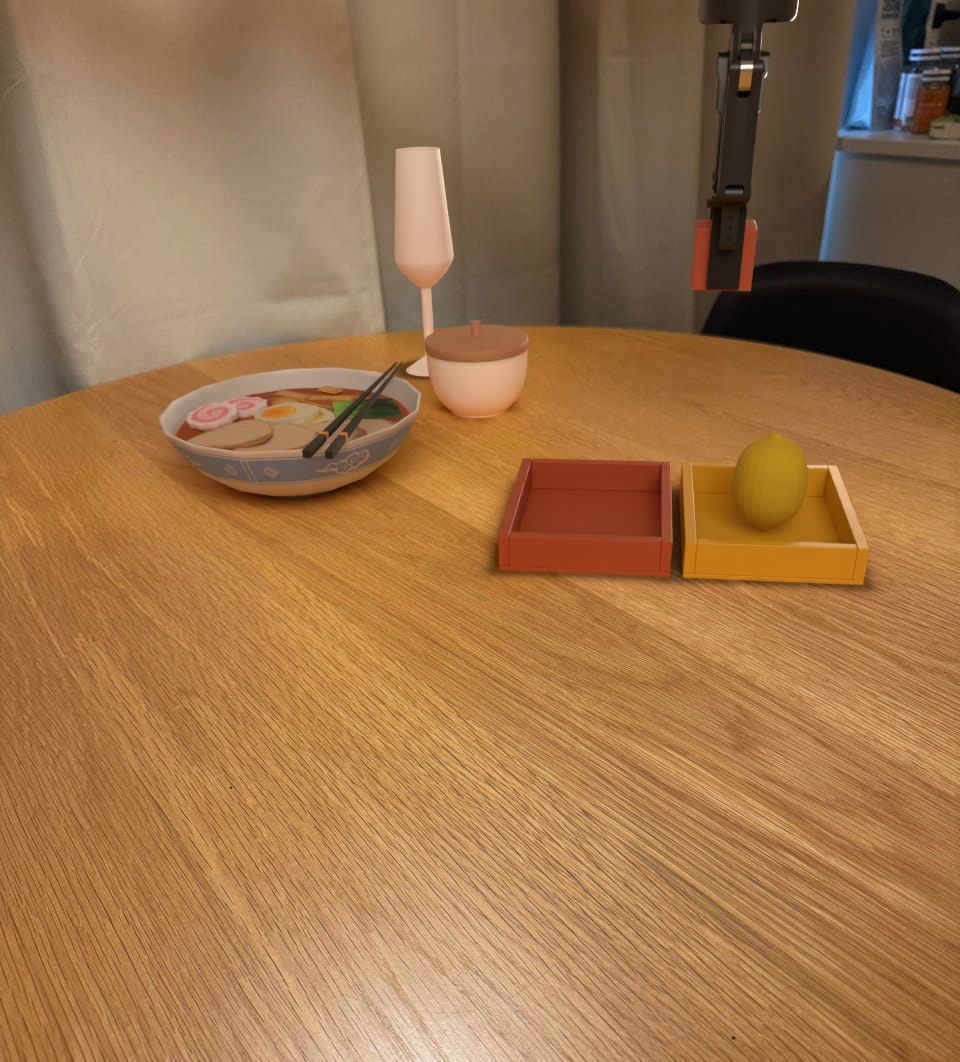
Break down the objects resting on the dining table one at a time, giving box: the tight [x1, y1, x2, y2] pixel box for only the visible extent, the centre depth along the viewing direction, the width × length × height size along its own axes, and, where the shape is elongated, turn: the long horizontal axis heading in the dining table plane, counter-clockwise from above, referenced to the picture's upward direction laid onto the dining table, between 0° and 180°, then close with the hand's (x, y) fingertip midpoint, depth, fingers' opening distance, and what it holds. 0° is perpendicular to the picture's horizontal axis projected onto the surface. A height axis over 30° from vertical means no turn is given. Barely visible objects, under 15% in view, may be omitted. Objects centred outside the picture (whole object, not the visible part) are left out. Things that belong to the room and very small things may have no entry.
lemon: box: [732, 431, 808, 531], centre depth 76 cm, size 6×6×8 cm
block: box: [690, 218, 759, 292], centre depth 87 cm, size 5×5×5 cm
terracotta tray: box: [497, 457, 674, 578], centre depth 80 cm, size 13×16×3 cm
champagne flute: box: [393, 146, 455, 377], centre depth 114 cm, size 7×7×24 cm
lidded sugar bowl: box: [424, 319, 530, 419], centre depth 105 cm, size 11×11×9 cm
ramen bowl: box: [157, 361, 422, 499], centre depth 89 cm, size 25×23×8 cm
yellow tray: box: [679, 461, 871, 586], centre depth 78 cm, size 13×16×3 cm
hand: (721, 280), depth 88 cm, fingers closed on block, 5 cm apart
